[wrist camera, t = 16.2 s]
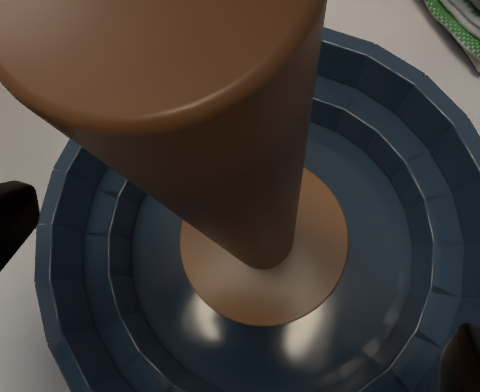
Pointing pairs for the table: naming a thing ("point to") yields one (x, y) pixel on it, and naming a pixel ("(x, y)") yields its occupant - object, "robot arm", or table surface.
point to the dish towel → (460, 23)
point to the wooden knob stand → (197, 131)
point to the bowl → (343, 296)
